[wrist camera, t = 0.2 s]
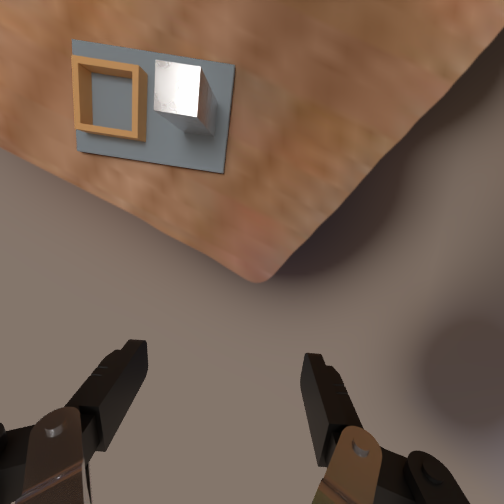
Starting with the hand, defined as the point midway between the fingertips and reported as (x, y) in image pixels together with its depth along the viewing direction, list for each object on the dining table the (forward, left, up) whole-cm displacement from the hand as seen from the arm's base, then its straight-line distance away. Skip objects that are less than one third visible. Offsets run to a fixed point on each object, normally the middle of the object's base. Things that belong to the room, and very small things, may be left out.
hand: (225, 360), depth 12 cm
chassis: (-17, -16, -28) cm, 37 cm away
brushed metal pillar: (-17, -9, -27) cm, 33 cm away
